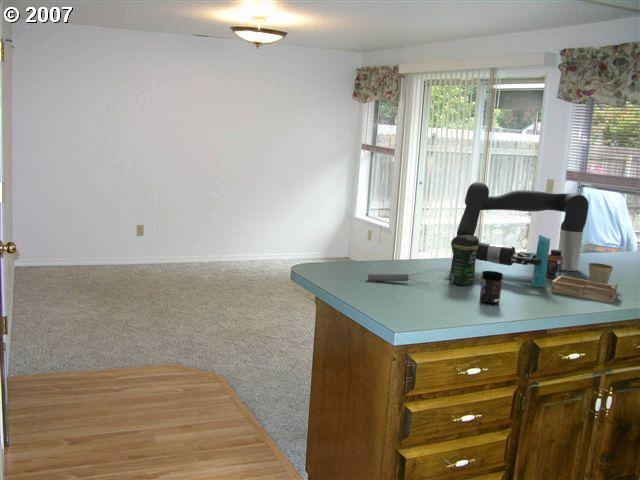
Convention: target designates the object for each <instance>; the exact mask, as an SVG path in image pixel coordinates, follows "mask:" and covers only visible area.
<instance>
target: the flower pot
mask: <svg viewBox="0 0 640 480" xmlns="http://www.w3.org/2000/svg"><path fill="white" fill-rule="evenodd" d="M587 266H588V270H589V273H588V274H589V279H588V281H590V282H596V283H602V284H608V283H609V280H610V278H611V277H610V276H611V274H612V272H613V270H614V269H615V267H614V266H612V265H609V264H605V263H599V262H589V263H587ZM608 285H609V284H608Z"/></svg>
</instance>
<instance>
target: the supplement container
mask: <svg viewBox="0 0 640 480" xmlns="http://www.w3.org/2000/svg"><path fill="white" fill-rule="evenodd" d="M481 272H482V273H481V283H480V290H479V291H480V292H479V302H480V303H481V304H482V305H487V306H498V305H499V304H500V301H501V295H502V294H501V291H502V285H503V283H502V282H503V279H504V278H503V277H504V274H503V273H502V272H499V271H494V270H483V271H481Z"/></svg>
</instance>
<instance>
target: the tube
mask: <svg viewBox="0 0 640 480" xmlns="http://www.w3.org/2000/svg"><path fill="white" fill-rule="evenodd" d="M550 243H551V238H549V237H546V236H543V235H540V234H539V235H538V240H537V246H536V253H535V254H536V258H535V259H540V260H541V265H534V266H533V273H532V279H531V286H533V287H536V288H545V286H546V279H547V277H546V272H547V263H548V255H550V254H549V253H550Z"/></svg>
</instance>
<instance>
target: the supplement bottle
mask: <svg viewBox="0 0 640 480" xmlns="http://www.w3.org/2000/svg"><path fill="white" fill-rule="evenodd" d="M562 263H563V257H562V256H561V251H560V250H558V249H551V250H550V254H549V255H548V263H547V272H546V278H549V279H553V280H554V279H556V278H557V277H558V276H562V271H563V270H562Z"/></svg>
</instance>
